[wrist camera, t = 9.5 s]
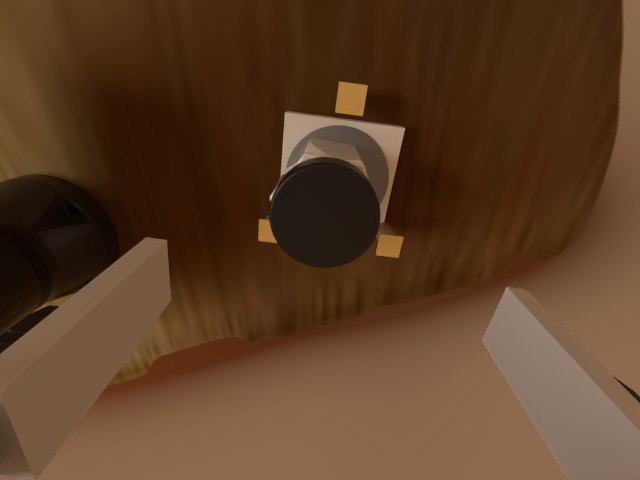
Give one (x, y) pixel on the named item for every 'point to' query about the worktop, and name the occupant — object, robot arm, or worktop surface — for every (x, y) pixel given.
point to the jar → (324, 206)
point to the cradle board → (371, 143)
